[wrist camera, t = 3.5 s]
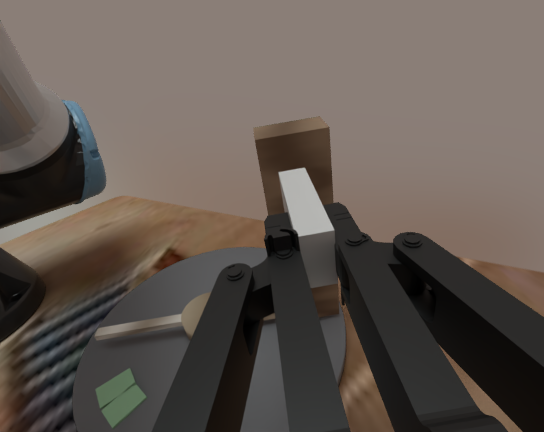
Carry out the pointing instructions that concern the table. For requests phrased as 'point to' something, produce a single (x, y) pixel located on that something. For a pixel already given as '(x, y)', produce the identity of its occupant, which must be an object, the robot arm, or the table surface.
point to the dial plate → (178, 353)
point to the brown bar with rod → (272, 159)
